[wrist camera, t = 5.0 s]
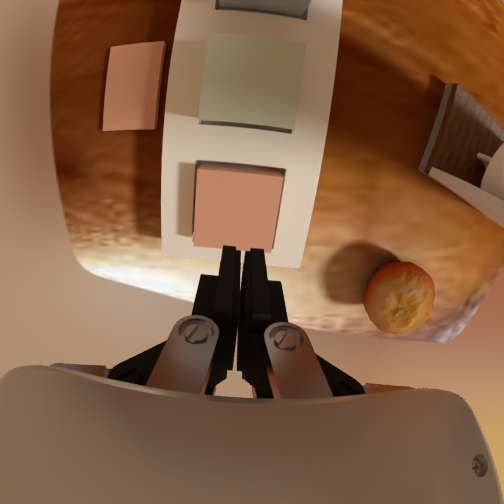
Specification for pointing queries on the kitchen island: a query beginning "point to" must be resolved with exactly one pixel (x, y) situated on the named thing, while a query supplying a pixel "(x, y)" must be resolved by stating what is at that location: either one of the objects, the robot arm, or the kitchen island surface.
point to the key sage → (251, 80)
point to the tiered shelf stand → (467, 153)
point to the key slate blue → (270, 5)
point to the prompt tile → (133, 86)
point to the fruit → (399, 297)
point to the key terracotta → (236, 206)
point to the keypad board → (242, 134)
